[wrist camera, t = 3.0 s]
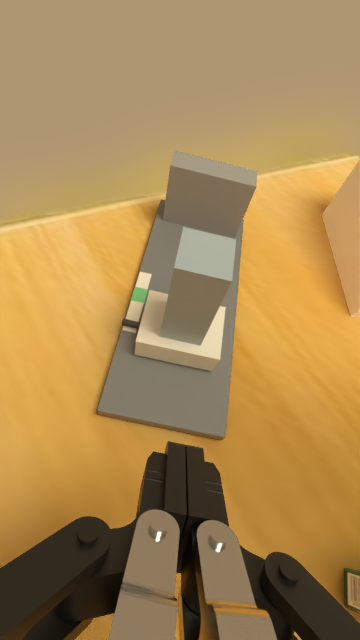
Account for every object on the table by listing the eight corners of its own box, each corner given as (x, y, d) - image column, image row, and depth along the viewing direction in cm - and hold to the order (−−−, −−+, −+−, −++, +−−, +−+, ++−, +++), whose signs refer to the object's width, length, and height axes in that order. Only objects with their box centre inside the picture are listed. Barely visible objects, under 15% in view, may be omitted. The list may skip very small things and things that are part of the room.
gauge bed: (240, 227, 46) (265, 168, 38) (221, 440, 30) (257, 416, 22) (160, 208, 45) (168, 143, 37) (97, 414, 30) (88, 380, 22)
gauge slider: (224, 267, 39) (264, 173, 28) (212, 371, 32) (260, 299, 21) (145, 249, 39) (155, 146, 27) (114, 350, 31) (110, 265, 20)
